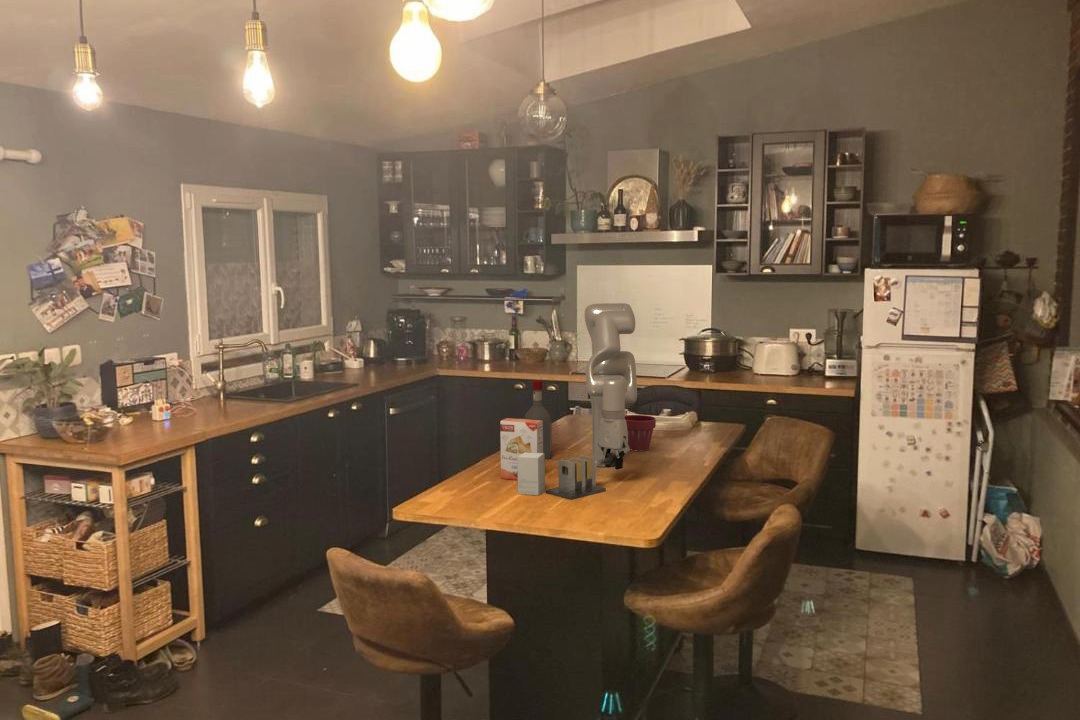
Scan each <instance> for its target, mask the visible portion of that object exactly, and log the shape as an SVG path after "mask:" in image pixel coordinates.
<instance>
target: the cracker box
mask: <svg viewBox="0 0 1080 720" xmlns="http://www.w3.org/2000/svg"><path fill="white" fill-rule="evenodd" d="M499 425H500V429H499V431H500V432H499V433H500V435H499V436H500V480H501V479H504V480H514V481H518V470H517V457H518V456H519V455H521V454H523V453H524V452H527V453H543V421H542V420H527V419H524V418H512V417H511V418H510V417H509V418H508V417H505V418H504V419H501V420H500V424H499Z"/></svg>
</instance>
